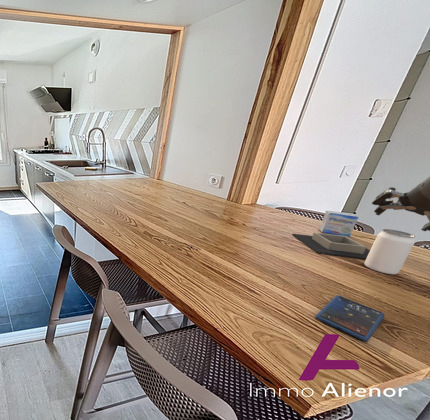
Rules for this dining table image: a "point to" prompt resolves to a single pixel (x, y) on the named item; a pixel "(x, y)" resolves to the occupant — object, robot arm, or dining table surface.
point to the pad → (334, 245)
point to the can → (389, 251)
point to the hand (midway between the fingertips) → (400, 220)
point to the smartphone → (351, 317)
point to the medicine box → (338, 223)
